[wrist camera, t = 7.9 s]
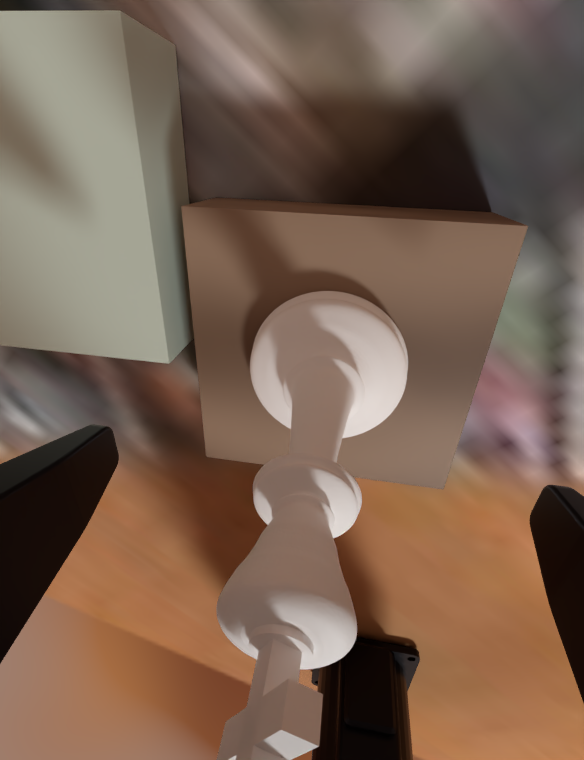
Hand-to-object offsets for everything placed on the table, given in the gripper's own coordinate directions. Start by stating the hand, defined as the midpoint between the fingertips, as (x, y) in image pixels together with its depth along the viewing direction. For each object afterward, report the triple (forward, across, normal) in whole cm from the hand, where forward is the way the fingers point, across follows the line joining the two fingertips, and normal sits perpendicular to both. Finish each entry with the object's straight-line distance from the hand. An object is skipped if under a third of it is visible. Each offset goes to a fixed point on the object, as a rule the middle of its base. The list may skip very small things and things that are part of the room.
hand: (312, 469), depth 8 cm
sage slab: (+8, +10, -4) cm, 13 cm away
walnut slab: (+8, 0, 0) cm, 8 cm away
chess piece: (+5, 0, 0) cm, 5 cm away
